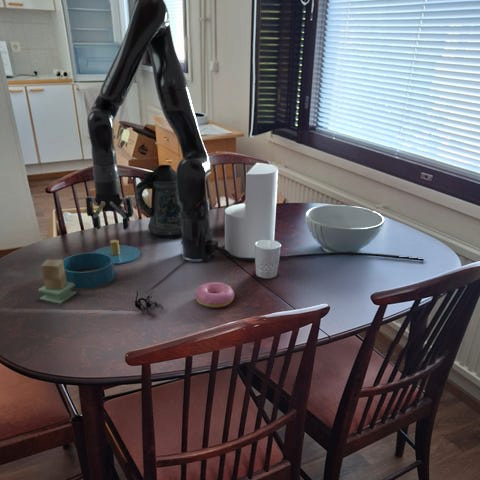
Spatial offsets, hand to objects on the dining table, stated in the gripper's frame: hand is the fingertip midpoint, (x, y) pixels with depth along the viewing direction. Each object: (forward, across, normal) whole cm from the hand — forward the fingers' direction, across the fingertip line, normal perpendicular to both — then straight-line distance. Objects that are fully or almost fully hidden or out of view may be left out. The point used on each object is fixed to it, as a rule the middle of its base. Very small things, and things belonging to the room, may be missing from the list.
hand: (112, 228), depth 155 cm
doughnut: (+10, -35, +31) cm, 47 cm away
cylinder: (+10, -45, -9) cm, 47 cm away
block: (+6, +9, +30) cm, 32 cm away
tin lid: (+9, 0, 0) cm, 9 cm away
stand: (+10, +9, +30) cm, 33 cm away
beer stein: (+10, -15, -23) cm, 29 cm away
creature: (+10, -17, +37) cm, 42 cm away
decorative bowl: (+10, -78, -11) cm, 79 cm away
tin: (+10, +4, +17) cm, 20 cm away
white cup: (+10, -50, +12) cm, 52 cm away
